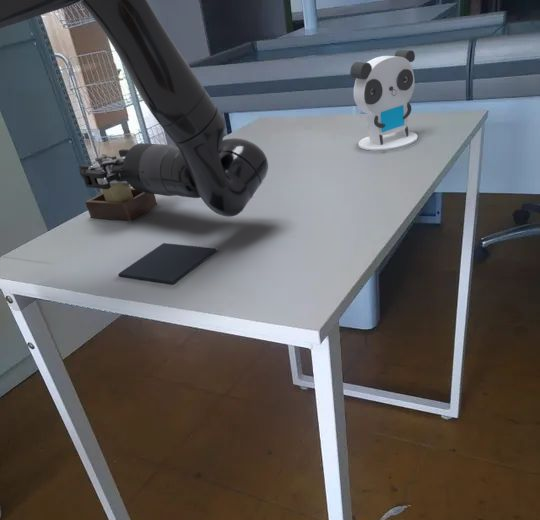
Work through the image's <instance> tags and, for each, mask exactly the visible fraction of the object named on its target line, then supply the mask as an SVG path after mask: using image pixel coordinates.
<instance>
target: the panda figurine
mask: <svg viewBox="0 0 540 520" xmlns="http://www.w3.org/2000/svg"><path fill="white" fill-rule="evenodd" d="M415 60H416V54H415V52H414V51H413V50H407V49H398V50H396V51H395V53H394V55H381V56H377V57H375V58H374V57H373V58H372V59H370V60H368V61H367V62H363V61H355V62H353V63H352V65H351V67H350V76H351V78H352V79H355V81H354V85H353V90H352V91H353V92H352V93H353V94H352V95H353V101H354V103H355V105H356V107H357V108H358V109H359V110H360V111H361V112H362V113H364V114H365V116H366V124H367V130H368V136H366V137H364V138H362V139H360V140H359V141H358V147H359V148H360V149H362V150H365V151H373V152H374V151H375V152H378V151H391V150H395V149H400V148H401V149H402V148H404V147H408V146H410V145H412V144H414V143H416V142H417V141H418V139H419V137H418V134H417V133H416V132H414V131H409V125H408V117H409V116H410V114H411V112H412V105H411V104H410V100H411V98H412V96H413V93H414V89H415V74H414V70H413V66H412V64H411V63H413V62H414V61H415Z"/></svg>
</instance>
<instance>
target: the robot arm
mask: <svg viewBox="0 0 540 520" xmlns="http://www.w3.org/2000/svg"><path fill="white" fill-rule="evenodd" d="M78 3H80V4H81V6H82V7H83V8H84V9H85V10H86V12H87V13H89V15H90V16H91V17H92V19H93V20H94V21H95V22H96V23H97V25H98V27H99V28H100V29H101V30H102V32H103V33H104V35H105V36H106V38H107V39H108V41H109V42H110V44H111V45H112V47H113V49H114V51H115V52H116V54H117V56H118V57H119V58H120V61H121V62H122V65H123V66H124V68H125V70H126V72H127V74H128V76H129V77H130V80H131V82H132V83H133V85H134V87H135V89H136V91H137V92H138V94H139V96H140V98H141V99H142V101H143V103H144V104H145V105H146V107H147V109H148V110H149V112H150V113H151V114H152V117H154V119H155V120H156V121H157V123H158V124H159V126H161V127H162V129H163V130H164V132H165V133H166V134H167V136H168V137H169V138H170V140H171V141H172V142H173V143H174V145H172V144H162V143H161V144H160V143H146V142H145V143H144V142H142V143H141V142H140V143H137V144H135V145H133V146H131V148H130V149H127V148H126V149H125V148H122V149H119V150H118V154H119V157H117V159H115V160H112V159H109V160H108V161H104V162H102V163H101V164H97V165H89V164H81V165H79V167H78V172H79V175H80V177H81V179H83V181H84V185H85V187H86V188H91V189H92V188H93V189H100V190H102V189H109V188H111V185H110V184H112V183H119V182H123V183H128V184H129V186H130V187H131V188H134V189H135V190H137V191H140V192H144V193H151V194H154V195H159V196H164V197H181V198H188V199H189V198H190V199H200V198H201V200H202V201H203V203H204V204H205V206H207V207H208V209H210V210H211V211H213V212H214V213H215V214H217V215H218V216H222V217H226V218H232V217H236V216H238V215H239V214H240V213H242V211H244V209H245V208H246V206H247V205H248V203H250V200H251V199H252V198H253V196H254V195H255V193H256V192H257V190H258V189H259V188H260V186H261V185H262V183H263V182H264V180H265V179H266V177H267V176H268V175H267V174H268V171H269V162H268V157H267V156H266V153H265V152H264V151H263V150H262V149H261V147H259V146H258V145H257V144H255V143H254V142H253V141H249V140H247V139H245V138H244V139H243V138H234V137H233V138H226V139H225V138H224V137H225V134H226V131H227V124H226V120H225V118H224V116H223V114H222V113H221V111H220V109H219V108H218V106H217V105H216V103H215V102H214V100H213V99H212V97H211V96H210V95H209V93H208V92H207V90H206V88H205V87H204V85H203V84H202V83H201V81H200V80H199V78H198V77H197V75H196V74H195V72H194V70H193V69H192V68H191V67H190V65H189V64H188V62H187V61H186V60H185V58H184V56H183V55H182V54H181V52H180V51H179V49H178V47H177V46H176V45H175V43H174V41H173V40H172V38H171V37H170V35H169V34H168V32H167V30H166V29H165V28H164V26H163V24H162V23H161V21H160V20H159V18H158V17H157V14H156V13H155V11H154V10H153V8H152V6H151V4H150V3H149V2H148V0H0V31H1V30H3V29H6V28H8V27H10V26H13V25H17V24H20V23H21V22H25V21H28V20H31V19H34V18H36V17H40V16H43V15H46V14H49V13H52V12H56V11H59V10H62V9H65V8H68V7H71V6H74V5H77V4H78ZM109 165H112V173H111V174H110V171H109V168H108V166H109ZM97 170H102V171H97Z"/></svg>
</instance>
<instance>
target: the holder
mask: <svg viewBox="0 0 540 520" xmlns="http://www.w3.org/2000/svg"><path fill="white" fill-rule="evenodd" d="M130 189H131V193H132V196H133V198H132V199H130V200H129V201H127V202H111V201H106V200H105V197H104V194H103V192H101V193H99V194H97V195H95V196H94V197H92V198H90V199H87V200H86V201H84V203H85V206H86V208H87V211H88V213H89V217H90V218H91V219H103V220H104V219H105V220H116V221H118V220H119V221H133V220H134V219H136V218H138V217H140V216H141V215H144V213H145V214H146V212H148V211H149V210H151V209H153V208H155V207H156V206H158V202H157V198H156V196H155V195H156V194H151V193H144V192H140V191H137V190H135V189H134V188H133V187H130Z"/></svg>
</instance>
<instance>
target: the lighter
mask: <svg viewBox="0 0 540 520" xmlns="http://www.w3.org/2000/svg"><path fill="white" fill-rule="evenodd" d="M110 159H111V160H115V159H118V157H117V155H112V156H109V155H107V154H105V153H104V154H101V155H100V156H96V157H95V159H94V160H95V162H96V163H98V165H100V164H101V163H102V162H104V161H108V160H110ZM108 168H109V171H110V174H111V173H112V165H109V166H108ZM97 171H102V170H97ZM110 185H111V188H109V189H101V191H102V192H101V193H103V194H104V197H105V200H106V201H111V202H127V201H129V200H130V199H132V198H133V196H132V193H131V189H130V188H131V185H130V184H128V183H123V182H119V183H112V184H110Z"/></svg>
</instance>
